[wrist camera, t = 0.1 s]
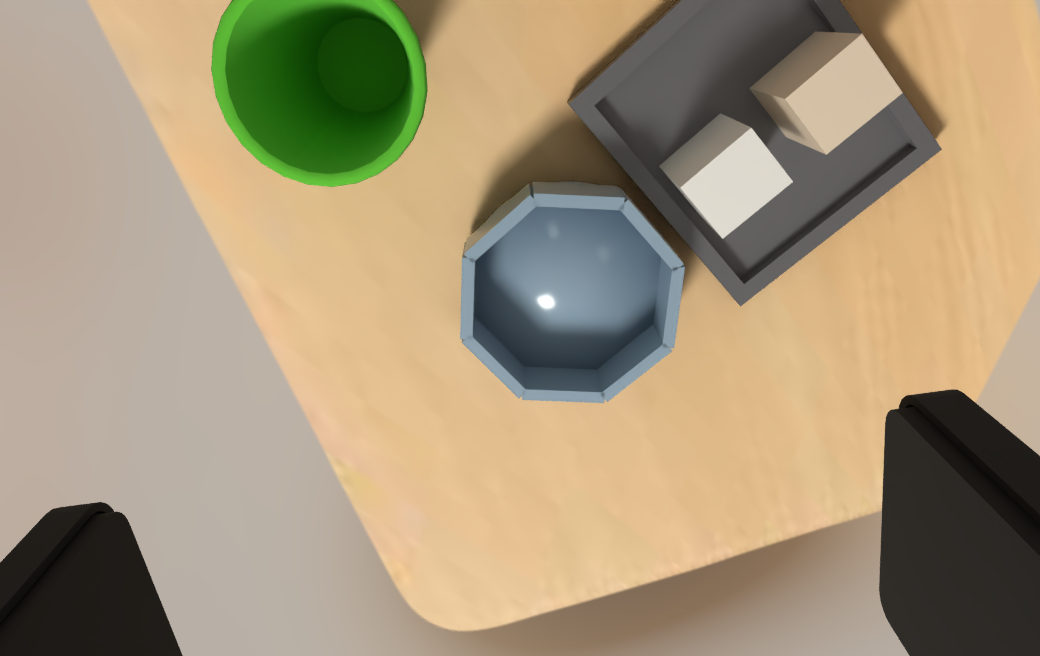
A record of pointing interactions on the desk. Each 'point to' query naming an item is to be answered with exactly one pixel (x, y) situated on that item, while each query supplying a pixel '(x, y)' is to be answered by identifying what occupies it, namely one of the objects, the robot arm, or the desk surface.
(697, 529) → the desk surface
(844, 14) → the tray
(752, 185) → the white block
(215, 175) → the desk surface
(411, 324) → the desk surface
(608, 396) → the bowl
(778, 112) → the beige rectangular block
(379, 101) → the cup
